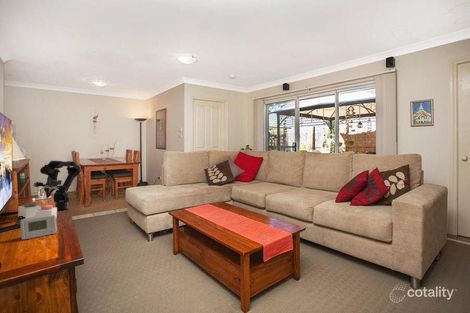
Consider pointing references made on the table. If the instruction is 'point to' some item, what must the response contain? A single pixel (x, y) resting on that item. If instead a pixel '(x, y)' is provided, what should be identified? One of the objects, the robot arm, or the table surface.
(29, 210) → the socket
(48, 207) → the red plug
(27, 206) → the plug
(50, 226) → the digital clock
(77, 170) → the robot arm
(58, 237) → the table surface
